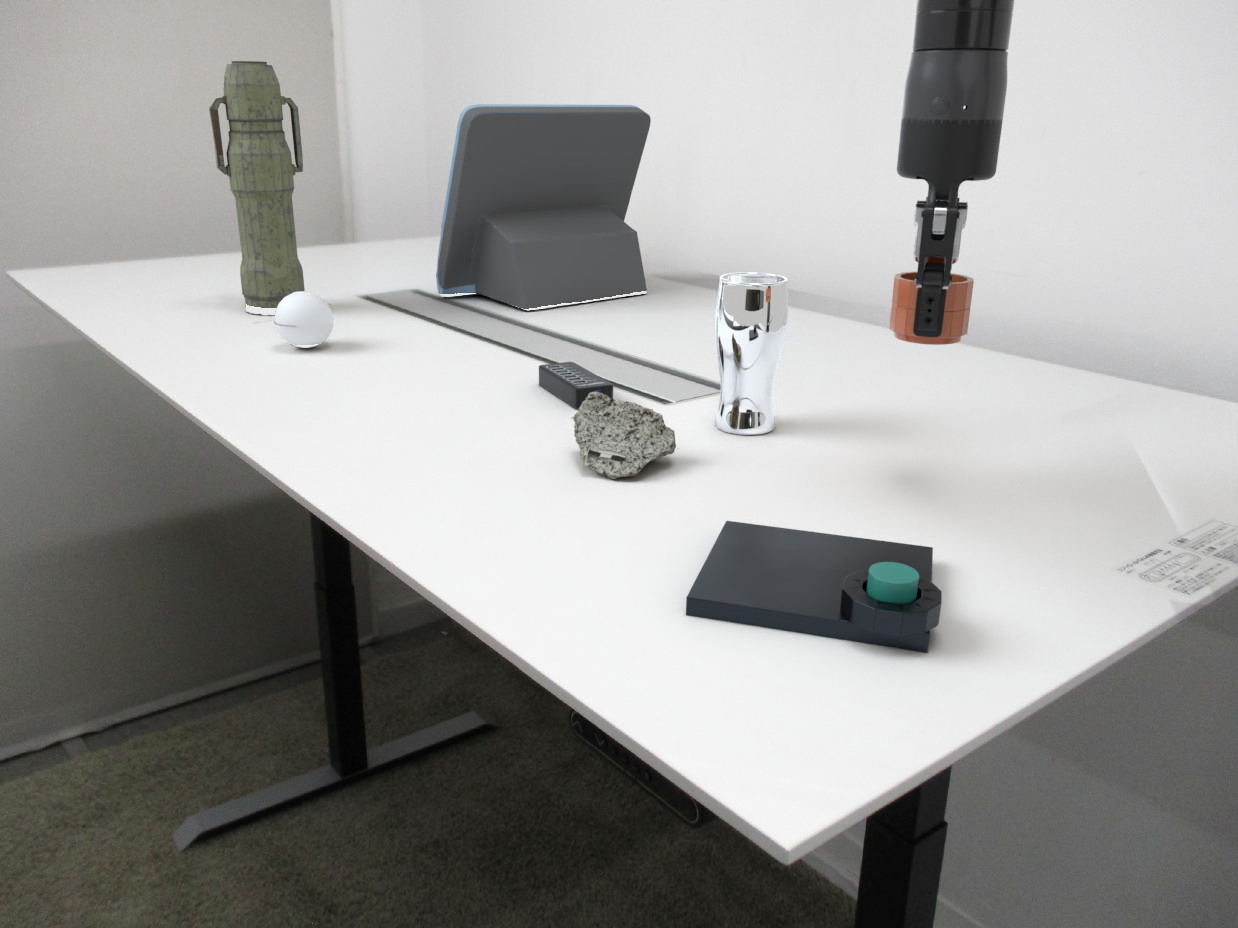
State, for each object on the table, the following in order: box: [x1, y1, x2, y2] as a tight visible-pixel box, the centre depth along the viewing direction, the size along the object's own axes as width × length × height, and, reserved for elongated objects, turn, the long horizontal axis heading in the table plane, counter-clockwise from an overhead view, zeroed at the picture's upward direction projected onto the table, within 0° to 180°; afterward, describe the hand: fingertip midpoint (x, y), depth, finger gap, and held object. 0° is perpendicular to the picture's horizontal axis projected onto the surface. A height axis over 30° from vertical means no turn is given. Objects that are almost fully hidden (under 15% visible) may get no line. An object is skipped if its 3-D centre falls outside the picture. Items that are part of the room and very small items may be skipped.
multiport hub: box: [538, 361, 614, 410], centre depth 112 cm, size 4×11×2 cm, turn 27°
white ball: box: [252, 290, 335, 345], centre depth 129 cm, size 10×7×7 cm
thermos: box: [208, 60, 306, 308], centre depth 147 cm, size 9×12×35 cm
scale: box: [685, 520, 943, 654], centre depth 68 cm, size 15×14×3 cm
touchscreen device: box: [435, 103, 652, 309], centre depth 162 cm, size 35×20×30 cm, turn 130°
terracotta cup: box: [888, 271, 975, 346], centre depth 83 cm, size 6×6×5 cm
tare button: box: [867, 562, 919, 604], centre depth 62 cm, size 3×3×2 cm
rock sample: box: [570, 392, 679, 480], centre depth 90 cm, size 10×8×9 cm
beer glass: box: [714, 271, 789, 436], centre depth 100 cm, size 7×7×15 cm
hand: (928, 326), depth 84 cm, fingers closed on terracotta cup, 6 cm apart
